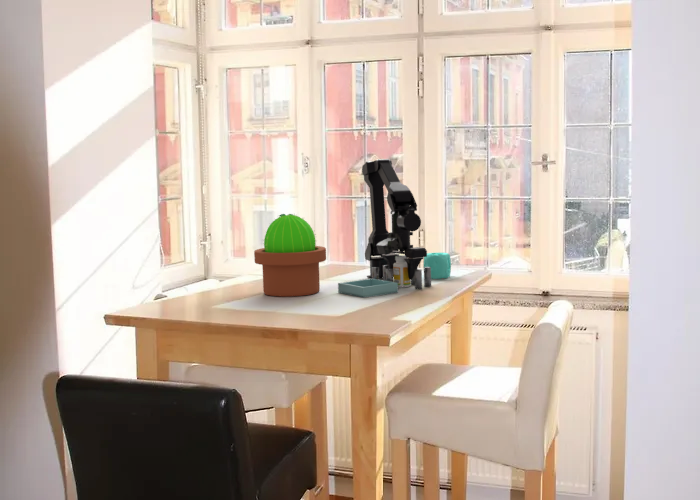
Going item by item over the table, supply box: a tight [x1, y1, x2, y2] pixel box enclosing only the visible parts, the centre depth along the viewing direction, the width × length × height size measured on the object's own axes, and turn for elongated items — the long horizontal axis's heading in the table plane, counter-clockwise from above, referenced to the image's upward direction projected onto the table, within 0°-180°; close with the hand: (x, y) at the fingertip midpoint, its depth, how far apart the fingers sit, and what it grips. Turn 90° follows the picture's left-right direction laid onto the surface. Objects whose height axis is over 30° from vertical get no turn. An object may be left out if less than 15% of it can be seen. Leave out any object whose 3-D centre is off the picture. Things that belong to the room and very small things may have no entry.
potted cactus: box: [253, 213, 327, 298], centre depth 275 cm, size 22×22×25 cm
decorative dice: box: [423, 252, 452, 280], centre depth 300 cm, size 8×8×8 cm
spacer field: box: [371, 265, 432, 290], centre depth 282 cm, size 18×14×6 cm
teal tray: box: [337, 278, 399, 299], centre depth 272 cm, size 13×13×3 cm
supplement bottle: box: [393, 254, 411, 288], centre depth 282 cm, size 5×5×10 cm
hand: (402, 278), depth 283 cm, fingers open, 8 cm apart
